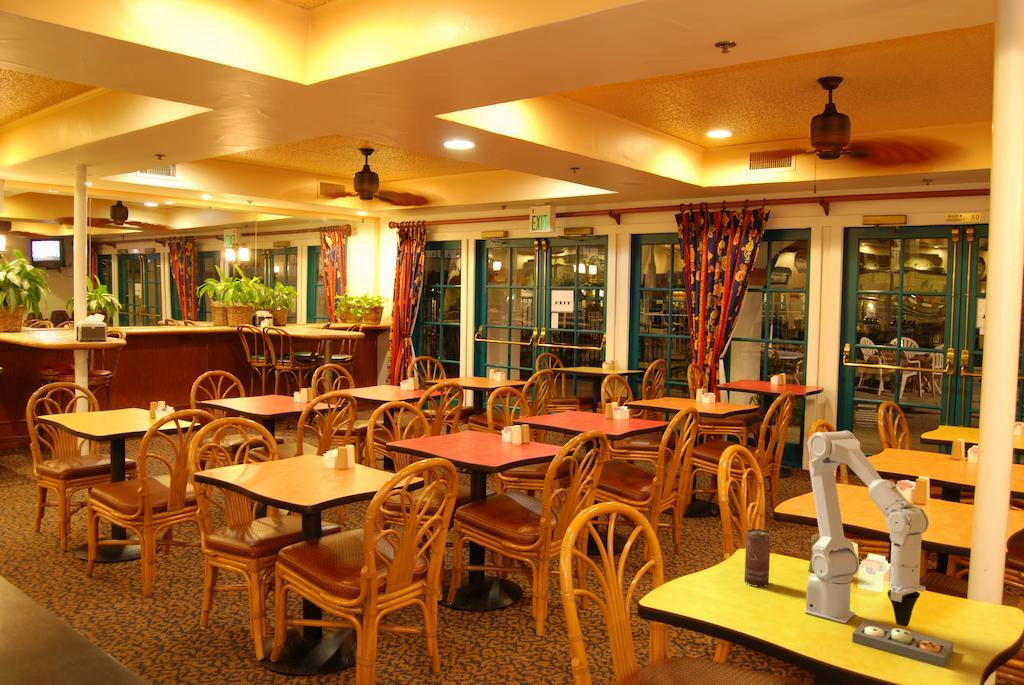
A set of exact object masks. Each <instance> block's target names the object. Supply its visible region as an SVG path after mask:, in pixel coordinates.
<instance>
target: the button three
mask: <svg viewBox="0 0 1024 685" xmlns="http://www.w3.org/2000/svg"><path fill="white" fill-rule="evenodd" d="M919 648H921V649H925V650H929V651H932V652H936V653H940V645H938V644H936V643H934V642H930V641H920V642H919Z"/></svg>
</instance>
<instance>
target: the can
mask: <svg viewBox="0 0 1024 685" xmlns="http://www.w3.org/2000/svg"><path fill="white" fill-rule="evenodd" d="M771 542H772V541H771V535H770V532H769V531H767V530H764V529H757V528H754V529H753V528H752V529H748V530H747V532H746V534H745V554H744V555H745V557H744V558H745V559H744V560H745V561H744V582H745V583H746V582H747V583H749V584H751V585H757V586H765V585H767V586H768V585H769V580H770V578H769V577H770V560H771V559H770V556H771ZM765 587H766V586H765Z"/></svg>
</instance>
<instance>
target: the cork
mask: <svg viewBox="0 0 1024 685" xmlns="http://www.w3.org/2000/svg"><path fill="white" fill-rule="evenodd" d="M819 539H820V534H819V533H813V535H812V536H811V538H810V540H811V545H812V547H813V546H814V545H815V543H816V542H817V541H818V540H819ZM812 557H813V549H812V548H811V555H810V560H809V566H808V569H807V571H808V572H810V573H815V572H814V570H813V567H812Z"/></svg>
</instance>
